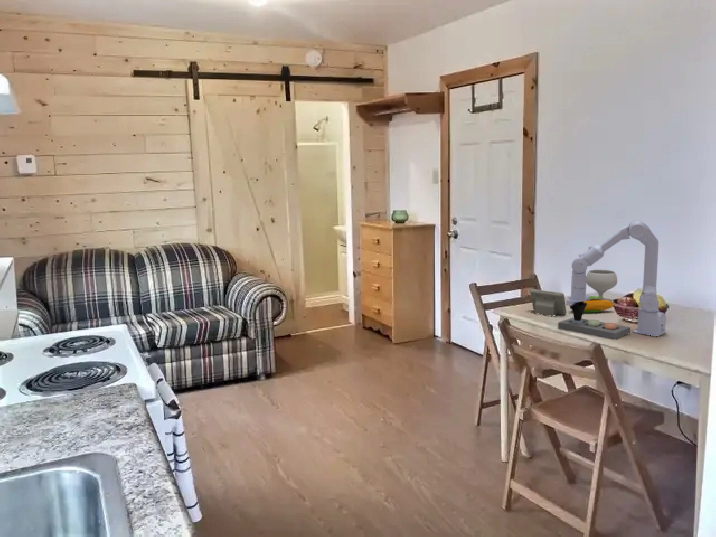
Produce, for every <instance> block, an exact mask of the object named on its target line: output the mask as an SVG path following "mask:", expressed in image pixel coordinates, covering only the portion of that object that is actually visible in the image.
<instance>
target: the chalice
mask: <svg viewBox="0 0 716 537" xmlns="http://www.w3.org/2000/svg"><path fill="white" fill-rule="evenodd" d="M586 277H587V280H586V286H588V287H589V288H591V289H593V290H594V291H595V292H597V294H598V297H603V298H596V299H601V300H608V301H610V302H612V301H613V300H611V299H607V298H604V294H605V293H606V292H607V291H610V290H612V289H613V288H615V287H616V286H617V285H618V276H617V273H616V272H615V271H614V270H611V269H610V270H609V269H591V270H589V271H587V273H586Z"/></svg>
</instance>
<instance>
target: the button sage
mask: <svg viewBox="0 0 716 537" xmlns="http://www.w3.org/2000/svg"><path fill="white" fill-rule="evenodd" d="M587 320H588V326H593V327H598V326H600V322H601V321H600V320H599V319H598V320H597V319H587Z"/></svg>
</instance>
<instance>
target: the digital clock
mask: <svg viewBox="0 0 716 537" xmlns="http://www.w3.org/2000/svg"><path fill="white" fill-rule="evenodd" d="M529 292H530V293H529V294H530V300H531V304H532V305H531V306H532V309H533V311H534V313H539V314H544V315H543V316H546V315H551V316H550V317H552V316H553V315H556V314H558V315H559V314H561V315H560V316H566V315H567V305H566V299H565V295H564V293H562V292H559V291H558V292H557V291H552V290H545V289H543V290H542V289H535V288H534V289H533V288H532V289H530V290H529ZM539 314H538V315H539ZM556 316H557V315H556ZM553 317H554V316H553Z"/></svg>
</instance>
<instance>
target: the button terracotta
mask: <svg viewBox="0 0 716 537" xmlns="http://www.w3.org/2000/svg"><path fill="white" fill-rule="evenodd" d="M604 323H605V326H604V329H609V330H616V329H617V325H618V324H617V323H614V322H604Z"/></svg>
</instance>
